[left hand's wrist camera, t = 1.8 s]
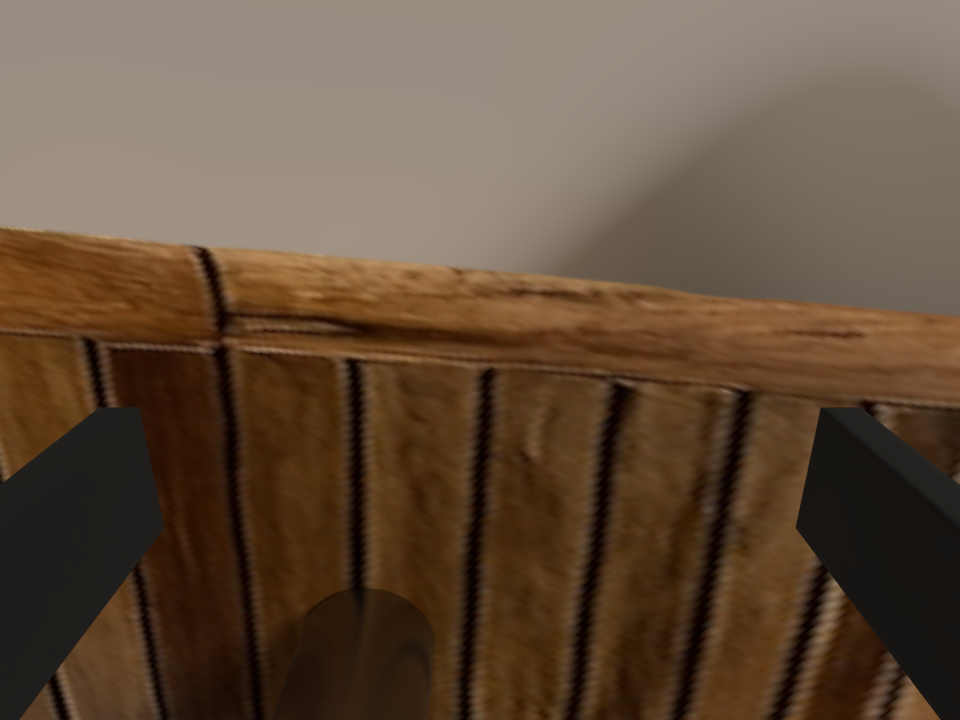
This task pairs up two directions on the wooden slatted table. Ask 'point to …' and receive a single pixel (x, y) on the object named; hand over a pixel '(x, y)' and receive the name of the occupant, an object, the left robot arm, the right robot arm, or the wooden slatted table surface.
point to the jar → (360, 661)
